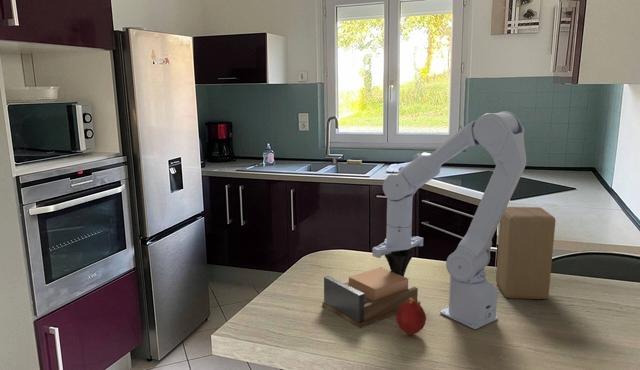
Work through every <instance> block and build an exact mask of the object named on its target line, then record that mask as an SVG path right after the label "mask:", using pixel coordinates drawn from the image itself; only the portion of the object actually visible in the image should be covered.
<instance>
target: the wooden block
mask: <svg viewBox="0 0 640 370" xmlns="http://www.w3.org/2000/svg"><path fill="white" fill-rule="evenodd" d="M556 220H557V219H556V217H554V216H553V215H552V214H550V213H549V212H548V211H547V210H545V209H544V208H542V207H539V206H538V207H536V206H534V207H531V206H530V207H529V206H528V207H527V206H507V207H506V209H505V211H504V214H503V216H502V218H501V220H500V222H499V226H498V227H499V229H498V243H497V244H498V245H497V257H496V270H495V271H496V273H495V282H496V284H497V286H498V287H499V289H500V290H501V292H502V293H503V295H504V297H506V298H508V299H531V300H534V299H535V300H547V299H548V298H549V296H550V285H551V284H550V283H551V276H552V275H551V274H552V263H553V262H552V261H553V252H554V241H555V232H556V231H555V230H556Z"/></svg>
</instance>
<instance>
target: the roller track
mask: <svg viewBox="0 0 640 370" xmlns="http://www.w3.org/2000/svg"><path fill="white" fill-rule="evenodd" d="M418 292H419V289H418V287H416V286H412V287H410V288H408V289H407V290H404V291H401V292H398V293H395V294H392V295H390V296H387V297H384V298H381V299H378V300H375V301H371V300H369V299H367V298H365V297H364V293H362V292H360V291H358V290H356V289H354V288H352V287H350V286H349V281H347V282H343V281H341V280H338V279H336V278H334V277H332V276H331V275H326V276H324V277H323V301H322V302H321V304H322V305H321V306H323V308H326V309H327V310H330V311H331V312H333V313H335V314H336V315H338V316H339V317H341V318H343V319H345V320H346V321H348V322H349V323H352V324H353V325H355V326H357V328H363V327H364V328H365V327H366V326H369V325H371V324H375V323H377V322H380V321H382V320H384V319H387V318H389V317H393V316H395V315H396V314H397V311H398V309H399V307H400V306H401V305H402V304H403V303H405V302H407V301H408V300H407V299H409V298H413V299H414V301H415V302H417V303H418V304H420V305H421V301H420V300H418V296H419V295H418Z"/></svg>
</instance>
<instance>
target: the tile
mask: <svg viewBox="0 0 640 370" xmlns="http://www.w3.org/2000/svg"><path fill="white" fill-rule="evenodd" d="M348 282H349V286H350V287H352V288H354V289H356V290H358V291H360V292H362V293H364V297H365V298H367V299H369V300H371V301H375V300H378V299H381V298H384V297H387V296H390V295H392V294H395V293H398V292H401V291H404V290H407V289H409V278H407V277H406V276H404V277H403V276H401V275H398V274H396V273H394V272H391V270H388V269H386V268H383V267H377V268H374V269H370V270H368V271H364V272H361V273H357V274H353V275H350V276H348Z"/></svg>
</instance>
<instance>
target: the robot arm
mask: <svg viewBox="0 0 640 370" xmlns="http://www.w3.org/2000/svg"><path fill="white" fill-rule="evenodd" d="M524 137H525V127H524V126H523V125H522V123H521V121H520V119H519V118H518V117H517V116H516V115H515V114H514V113H513V112H510V111H506V110H505V111H504V110H503V111H499V112H497V113H495V112H494V113H493V112H492V113H485V114H483V115H480V116H479V117H478V118H477V119H476V120H473V121H471V122H469V123H468V124H466V125H465V126H463V127H462V128H461V129H460V130H458V131H457V132H456V133H455V134H454V135H453V136H451V137H450V138H449V139H448V140H446V141H445V142H443V144H441V146H439V147H438V148H436V150H434V151H432V153H429V152H422V153H421V152H419V153H416V154H415V155H413V156H412V158H413V159H412V160H411V161H410V162H409V163H407V164H406V165H405V166H400V167H398V170H397V171H398V173H393V174H389V175H387V177H386V178H385V179H384V181H383V184H382V191H383V194H384V195H385V197H386V198H387V199H386V200H387V201H386V237H385V239H383V240H384V242H382V243H380V244H379V245H377V246H374V247H372V251H371V252H372V254H371V256H373V257H375V258H377V259H381V258H382V256H384V258H385V260H386V261H387V263H388V266H389V269H390V271H391V272H394V273H396V274H398V275H401V276H403V277H405V273H406V271H407V267H408V266H409V264H410V261H411V260H412V258H413V257H414V251H413V250H411V248H415V247H423V246H424V237H420V236H418V235H417V236H412V230H413V229H412V228H413V223H412V222H413V221H412V220H413V202H414V201H413V200H414V199H413V197H414V195H415V194H416V193H417V191H418V189H420V188H421V187H422V186H424V185H425V184H427V183H428V182H429V181H432V179H435V178H436V176H439V174H440V172H441V168H442V165H444V164H445V163H446V162H448V161H450V160H451V159H452V158H454V157H455V156H457V155H458V154H460V153H461V152H463V151H464V150H466V149H468V148H469V147H475V146H478V145H480V146H481V147H482V148H483V149H484V150H485V151H487V152H488V154H490V156H491V158H492V160H493V162H494V164H495V167H494V169H493V173H492V174H491V177H490V178H489V182H488V184H487V186H486V189H485V191H484V192H483V195H482V197H481V199H480V201H479V204H478V206H477V209H476V211H475V213H474V215H473V218H472V219H471V222H470V224H469V225H470V226H469V227H468V230H467V231H466V234H465V235H464V236H463V238H462V239H461V240H460V242H459V243H458V245H457V247H456V249H455V250H454V252H451V254H449V255H448V256H447V259H446V261H445V262H446V263H445V266H446V270H447V273H448V274H449V275H450V276H449V293H448V294H449V296H448V297H449V298H448V307H446V308H442V309H441V310H440V311H439V314H441V315H443V316H446V317H448V318H449V319H452V320H454V321H456V322H458V323H461V324H463V325H464V326H466V327H469V328H471V329H474V330H477V329H479V328H482V327H484V326H486V325H488V324H491V323H492V322H494V321H496V320H498V319H499V318H498V315H497V303H498V289H497V288H496V286H495V285H493V284H492V283H490V282H489V281H488V280H487V278H486V272H485V268H486V267H487V266H488V265H489V263H490V260H491V248H492V246H493V241H492V240H493V237H494V235H495V233H496V231H497V228H498V227H499V225H500V220H501V218H502V216H503V214H504V211H505V209H506V207H508V205H509V203H510V201H511V198H512V196H513V194H514V192H515V190H516V188H517V186H518V183H519V180H520V179H521V176H522V174H523V172H524V170H525V167H526V165H527V154H526V146H525V139H524Z"/></svg>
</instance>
